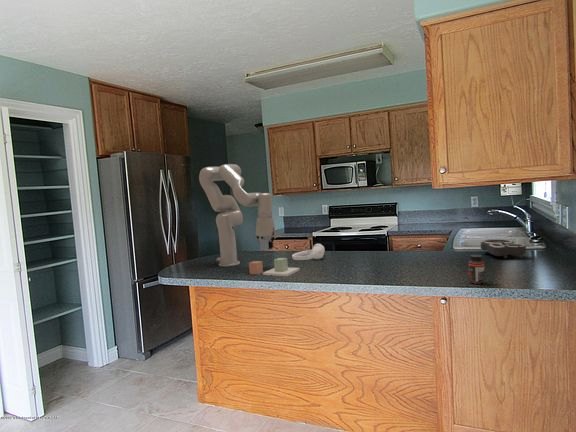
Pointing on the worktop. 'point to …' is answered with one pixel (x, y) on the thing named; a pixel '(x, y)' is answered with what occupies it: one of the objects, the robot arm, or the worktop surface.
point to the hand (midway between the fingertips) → (266, 247)
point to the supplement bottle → (476, 270)
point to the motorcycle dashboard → (503, 247)
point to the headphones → (314, 253)
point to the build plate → (277, 273)
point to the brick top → (256, 267)
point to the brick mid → (264, 244)
